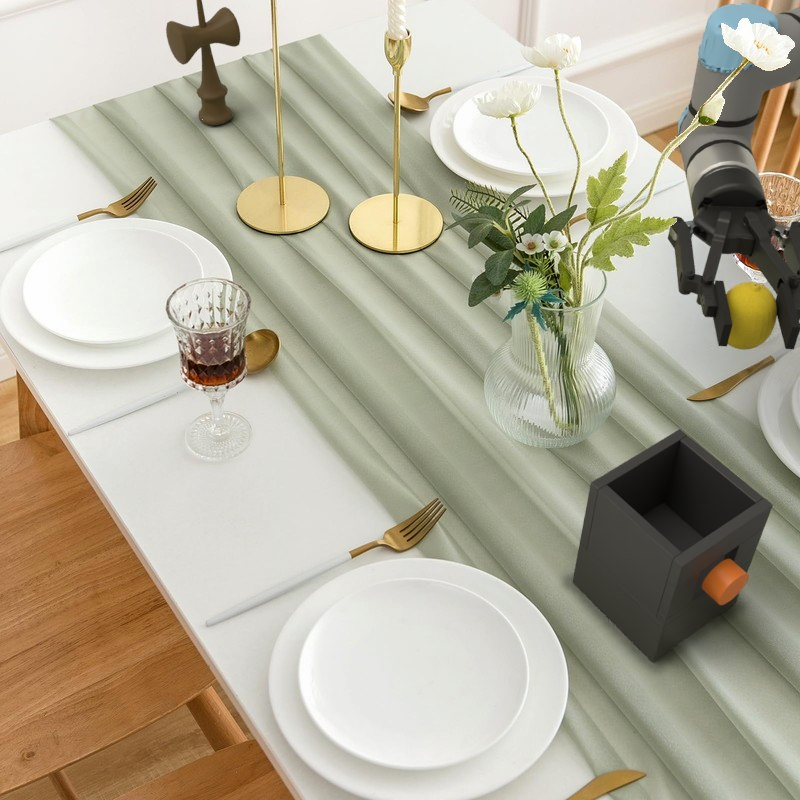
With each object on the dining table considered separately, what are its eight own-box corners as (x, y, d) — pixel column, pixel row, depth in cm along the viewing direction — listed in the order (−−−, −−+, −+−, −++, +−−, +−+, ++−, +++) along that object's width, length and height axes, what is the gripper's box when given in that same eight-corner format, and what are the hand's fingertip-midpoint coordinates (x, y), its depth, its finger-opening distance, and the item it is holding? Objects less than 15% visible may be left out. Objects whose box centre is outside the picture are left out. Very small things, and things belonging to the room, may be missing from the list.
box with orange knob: (735, 603, 104) (773, 504, 93) (652, 663, 99) (682, 566, 88) (653, 529, 110) (679, 428, 99) (571, 582, 105) (590, 482, 95)
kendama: (178, 120, 165) (156, -8, 151) (234, 101, 169) (218, -25, 155) (196, 137, 162) (175, 9, 147) (253, 118, 165) (238, -10, 151)
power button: (743, 591, 95) (752, 567, 93) (715, 611, 94) (723, 587, 91) (726, 576, 96) (735, 551, 94) (698, 596, 95) (706, 571, 92)
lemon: (706, 359, 108) (722, 297, 102) (713, 324, 112) (729, 262, 106) (763, 370, 107) (783, 308, 101) (768, 335, 110) (787, 273, 105)
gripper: (804, 226, 119) (849, 370, 103) (634, 220, 121) (652, 362, 104) (822, 167, 114) (873, 310, 98) (644, 161, 115) (665, 301, 99)
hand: (759, 336), depth 101 cm, fingers closed on lemon, 5 cm apart
